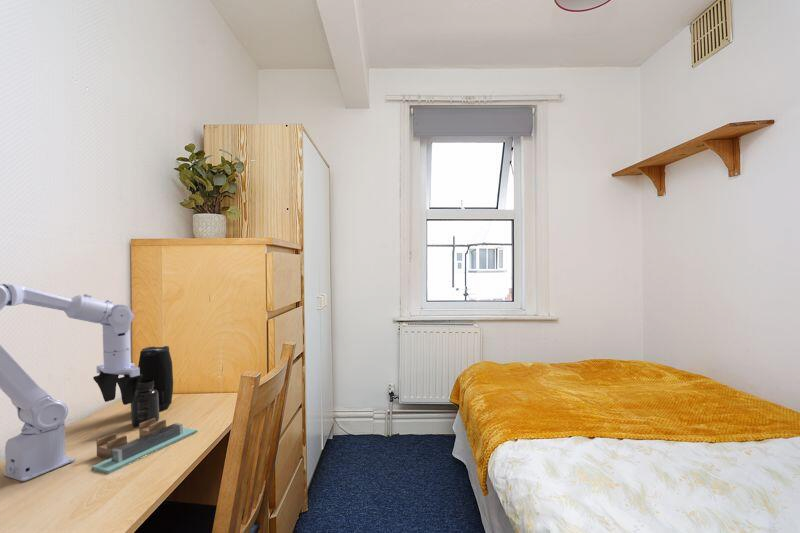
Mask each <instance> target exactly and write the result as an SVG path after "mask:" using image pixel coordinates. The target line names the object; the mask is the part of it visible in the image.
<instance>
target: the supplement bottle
mask: <svg viewBox="0 0 800 533" xmlns="http://www.w3.org/2000/svg"><path fill="white" fill-rule="evenodd" d="M153 387H154V380H142V381H140V382H139V384H138V386H137V389H136V392H135V397H134V400H133V403H130V422H131V426H132V427H134V428H139V424H140V423H142V422H145V421H148V420H150V419H153V418H156V423H157V422H159V420H160V412H159V397H158V391H157V389H155V388H153Z"/></svg>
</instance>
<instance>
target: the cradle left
mask: <svg viewBox="0 0 800 533" xmlns="http://www.w3.org/2000/svg"><path fill="white" fill-rule="evenodd" d="M127 443H128V436H127V435H125V434H124V435H122V436H120V437H117V433H116V432H115V433H112V434H109V435H106V436H104V437H101V438H98V439H96V457H97V458H100V459H103V460H108V459H110V458H111V450H112V449H115V448H117V447H120V446H122V445H124V444H127Z"/></svg>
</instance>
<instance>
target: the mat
mask: <svg viewBox="0 0 800 533" xmlns="http://www.w3.org/2000/svg"><path fill="white" fill-rule="evenodd" d="M196 433H198V429H195V428H189V427H188V428H187V427H184V426H183V434H181V435H178V436H176V437H174V438H172V439H170V440H167V441H165V442H163V443H161V444H159V445H156V446H154V447H152V448H150V449H148V450H145V451H143V452H141V453H139V454H137V455H134V456H132V457H130V458H128V459H126V460H123V461H121V462H119V463H117V462H113V461H112V459H111V458H110V459H108V460H107V459H104V460H103V461H101V462H98V463H97V464H94V465H91V470H93V469H94V471H97V470H98V472H101V471H102V472H101V473H104V472H105V473H104V474H108V473H109V474H111V473H113V472H116V471H118V470H120V469H122V468H124V467H126V466H128V465H130V464H129V463H131V464H133V463H135V462H136V461H135V460H137V459H139V460H141V459H142V458H141V457H143V456H145V455H148V454H150V453H152V452H154V451H156V450H158V451H160V450H162V449H164V447H165V448H166V446H167V447H168V445H169V446H170V445H173V444H176V443H177V442H180V441H181V440H184V439H186V438H188V437H190V436H192V435H194V434H196ZM161 448H162V449H161ZM159 449H160V450H159ZM156 452H157V451H156ZM154 453H155V452H154ZM152 454H153V453H152ZM150 455H151V454H150ZM148 456H149V455H148ZM145 457H146V456H145ZM140 458H141V459H140ZM143 458H144V457H143ZM134 461H135V462H134ZM137 461H138V460H137ZM132 462H133V463H132ZM123 466H124V467H123ZM121 467H122V468H121ZM119 468H120V469H119ZM117 469H118V470H117ZM115 470H116V471H115ZM110 472H111V473H110Z"/></svg>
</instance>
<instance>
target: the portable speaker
mask: <svg viewBox="0 0 800 533" xmlns="http://www.w3.org/2000/svg"><path fill="white" fill-rule="evenodd" d="M137 368H140V374H142V379H141V380H140V381H142V380H154V387H153V388H155V389H157V391H158V397H159V411H160V412H163V411H166V410H168V409H169V406H170V405H171V404H172V403H173V402H172V399H173V393H174V376H173V375H174V374H173V373H174V372H173V361H172V357H171V352H170V347H169V345H164V346H146V347H145V348H144V347H143V348H142V349H141V350H140V352H139V360H138V366H137Z"/></svg>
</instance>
